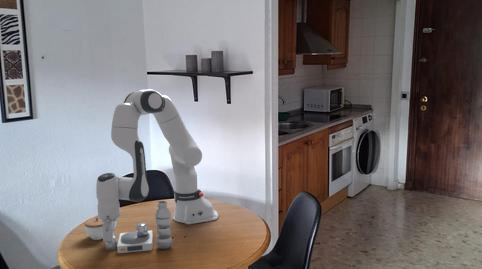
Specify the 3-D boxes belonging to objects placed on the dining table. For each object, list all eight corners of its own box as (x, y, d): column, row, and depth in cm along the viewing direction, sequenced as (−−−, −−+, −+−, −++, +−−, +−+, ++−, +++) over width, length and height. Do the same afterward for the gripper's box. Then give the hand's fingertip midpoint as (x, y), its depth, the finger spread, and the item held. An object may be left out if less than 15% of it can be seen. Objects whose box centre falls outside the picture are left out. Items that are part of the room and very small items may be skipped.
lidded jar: (103, 230, 198) (102, 211, 196) (115, 237, 190) (113, 217, 189) (81, 237, 191) (80, 217, 189) (92, 244, 183) (90, 223, 181)
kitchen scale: (152, 236, 190) (152, 228, 190) (152, 250, 176) (151, 241, 176) (120, 239, 188) (119, 231, 187) (117, 253, 174) (116, 245, 173)
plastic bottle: (157, 244, 181) (154, 200, 178) (173, 244, 182) (171, 199, 179) (155, 251, 175) (153, 205, 172) (171, 250, 176) (169, 204, 172)
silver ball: (148, 232, 185) (147, 222, 184) (148, 237, 180) (147, 226, 179) (137, 233, 184) (136, 223, 183) (136, 238, 179) (135, 227, 178)
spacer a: (117, 245, 182) (117, 234, 181) (116, 249, 177) (116, 238, 176) (106, 246, 181) (105, 235, 180) (105, 250, 176) (104, 239, 176)
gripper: (114, 220, 167) (116, 253, 169) (118, 204, 187) (120, 233, 189) (97, 222, 166) (100, 255, 168) (104, 205, 186) (106, 234, 188)
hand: (111, 243), depth 179 cm, fingers closed on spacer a, 5 cm apart
